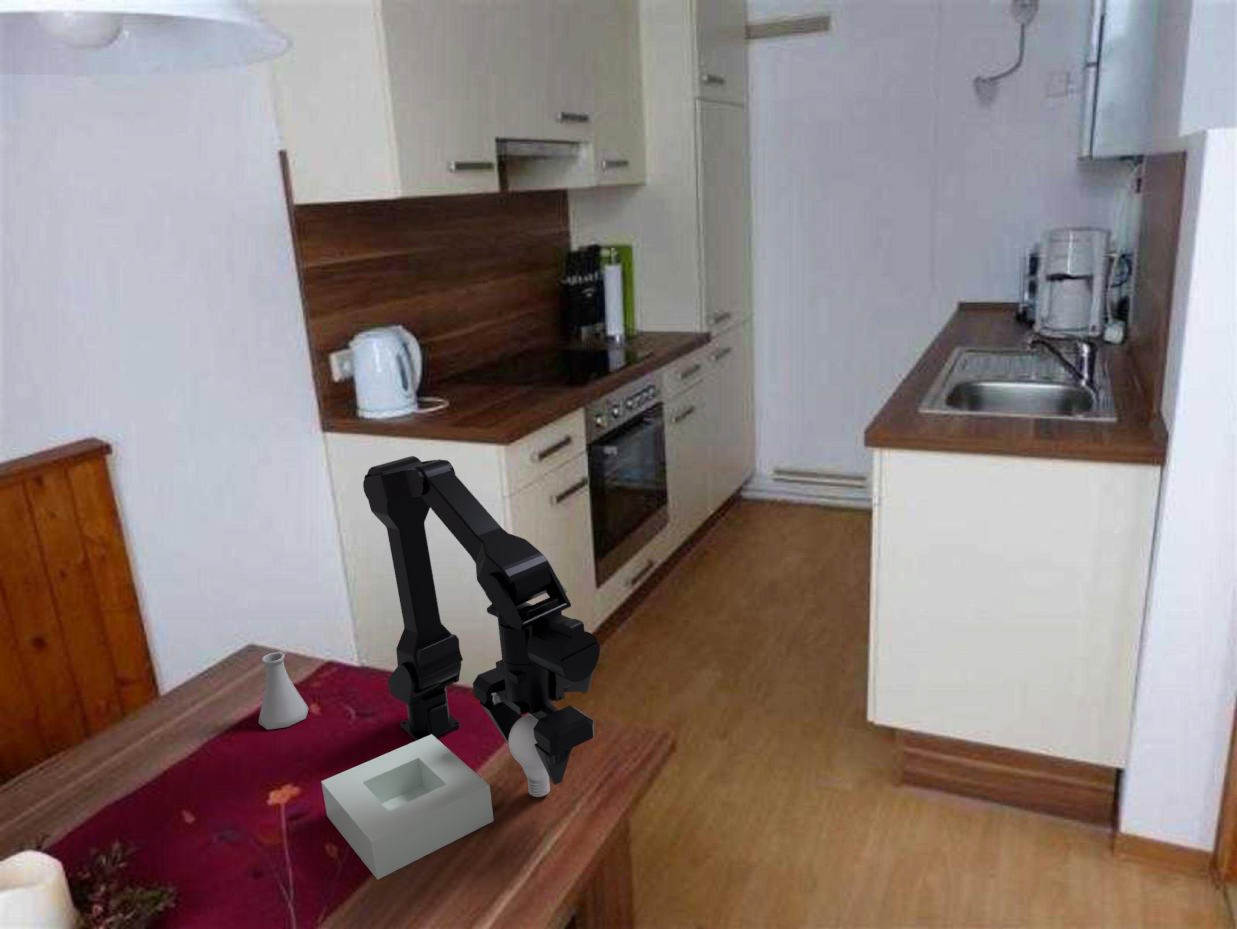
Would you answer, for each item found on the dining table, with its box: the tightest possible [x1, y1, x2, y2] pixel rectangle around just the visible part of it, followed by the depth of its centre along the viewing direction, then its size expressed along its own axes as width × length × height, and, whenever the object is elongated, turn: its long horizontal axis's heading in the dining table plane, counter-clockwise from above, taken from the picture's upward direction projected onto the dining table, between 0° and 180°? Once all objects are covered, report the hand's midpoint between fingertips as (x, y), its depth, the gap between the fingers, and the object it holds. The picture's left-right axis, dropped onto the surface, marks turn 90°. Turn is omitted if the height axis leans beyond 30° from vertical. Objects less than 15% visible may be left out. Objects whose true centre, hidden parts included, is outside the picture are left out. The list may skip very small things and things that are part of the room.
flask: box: [258, 651, 309, 731], centre depth 138 cm, size 7×7×10 cm
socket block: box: [320, 734, 494, 881], centre depth 114 cm, size 15×15×5 cm
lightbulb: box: [508, 713, 551, 798], centre depth 116 cm, size 6×6×11 cm
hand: (536, 766), depth 117 cm, fingers open, 9 cm apart
